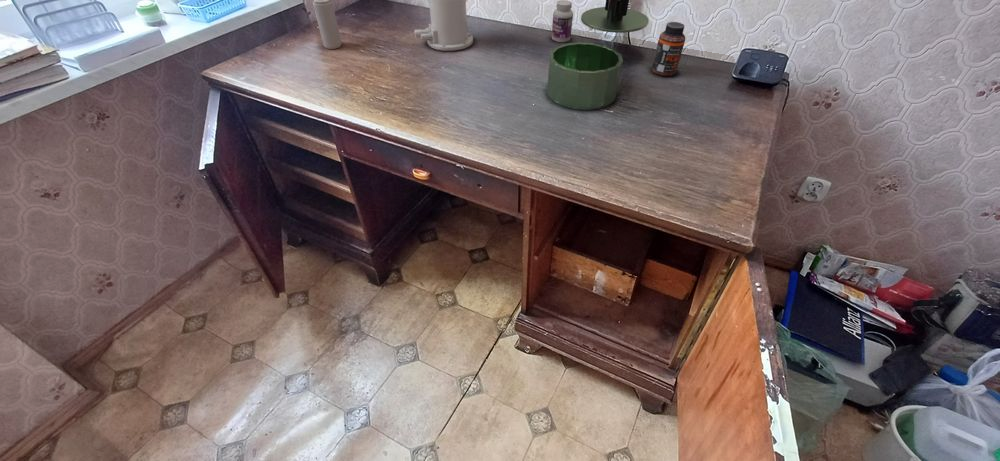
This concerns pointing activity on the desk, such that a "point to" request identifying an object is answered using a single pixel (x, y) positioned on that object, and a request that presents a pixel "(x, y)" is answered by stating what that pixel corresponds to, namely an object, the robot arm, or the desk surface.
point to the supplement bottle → (669, 49)
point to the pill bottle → (562, 21)
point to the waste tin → (584, 75)
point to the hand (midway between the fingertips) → (615, 12)
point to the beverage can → (327, 23)
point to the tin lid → (614, 19)
